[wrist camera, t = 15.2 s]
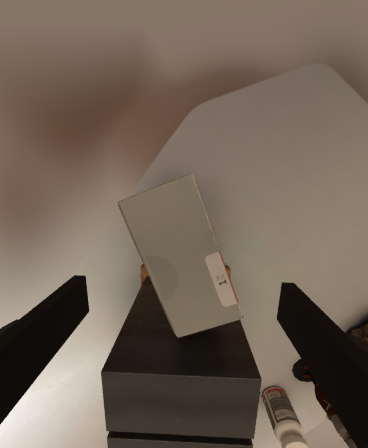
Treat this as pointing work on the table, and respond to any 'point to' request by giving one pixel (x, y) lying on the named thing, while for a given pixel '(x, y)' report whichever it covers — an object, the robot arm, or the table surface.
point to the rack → (178, 382)
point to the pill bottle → (283, 418)
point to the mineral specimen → (361, 333)
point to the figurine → (322, 401)
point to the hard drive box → (181, 256)
